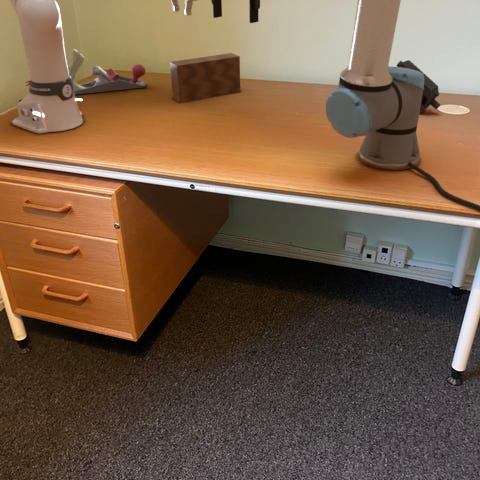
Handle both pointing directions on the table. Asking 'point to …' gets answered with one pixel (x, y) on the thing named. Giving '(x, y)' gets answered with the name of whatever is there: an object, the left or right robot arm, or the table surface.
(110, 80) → the hand plane
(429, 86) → the tool
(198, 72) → the box
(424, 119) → the table surface
